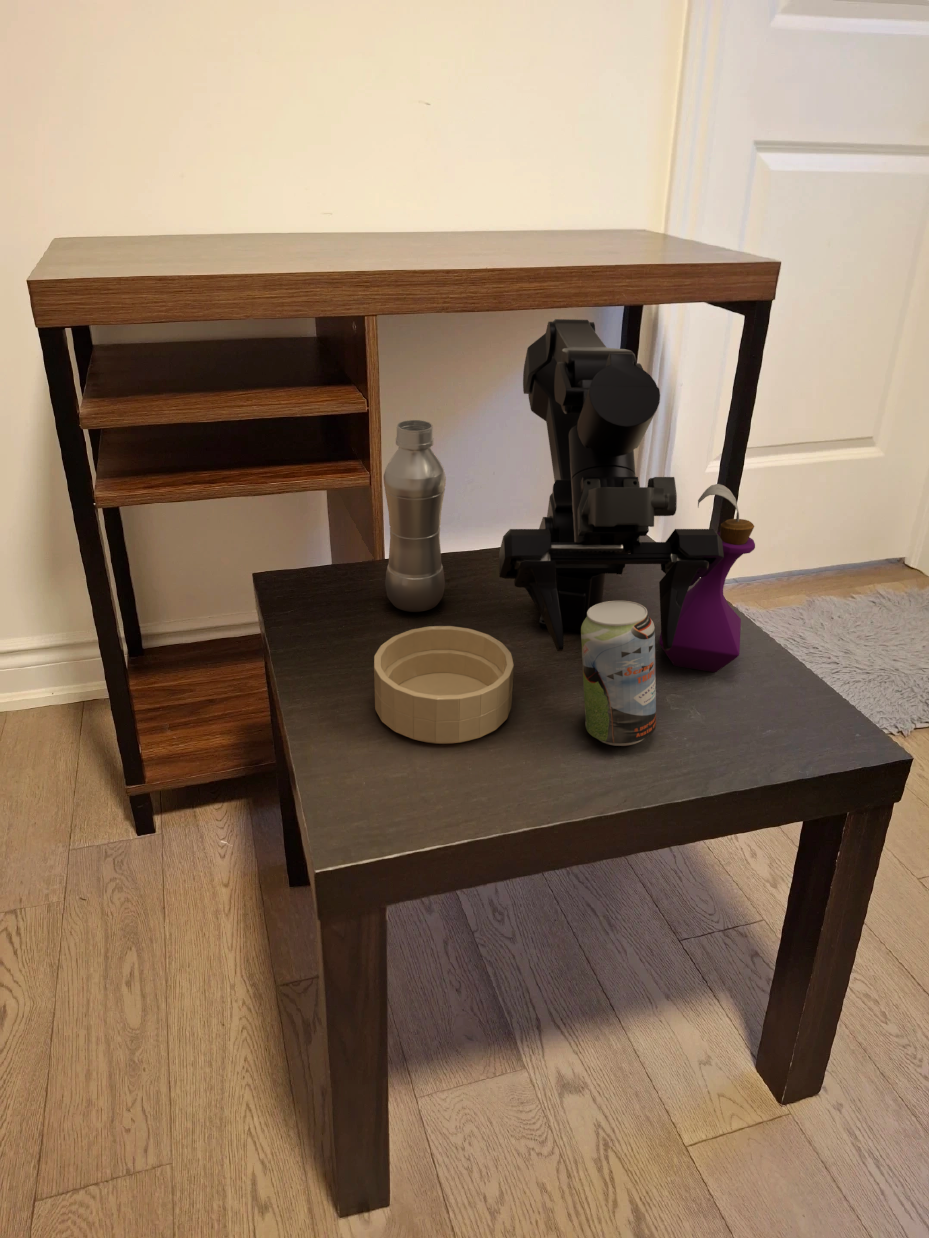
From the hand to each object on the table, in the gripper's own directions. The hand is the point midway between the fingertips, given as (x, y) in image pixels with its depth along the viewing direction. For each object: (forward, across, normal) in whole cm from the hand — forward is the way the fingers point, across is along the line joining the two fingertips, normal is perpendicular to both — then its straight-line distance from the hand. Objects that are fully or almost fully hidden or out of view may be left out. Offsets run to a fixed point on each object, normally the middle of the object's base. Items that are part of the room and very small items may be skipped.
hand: (614, 649), depth 80 cm
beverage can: (+6, 0, +5) cm, 8 cm away
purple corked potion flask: (-2, +11, +13) cm, 17 cm away
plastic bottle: (-10, -17, +21) cm, 29 cm away
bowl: (+3, -14, +7) cm, 16 cm away
